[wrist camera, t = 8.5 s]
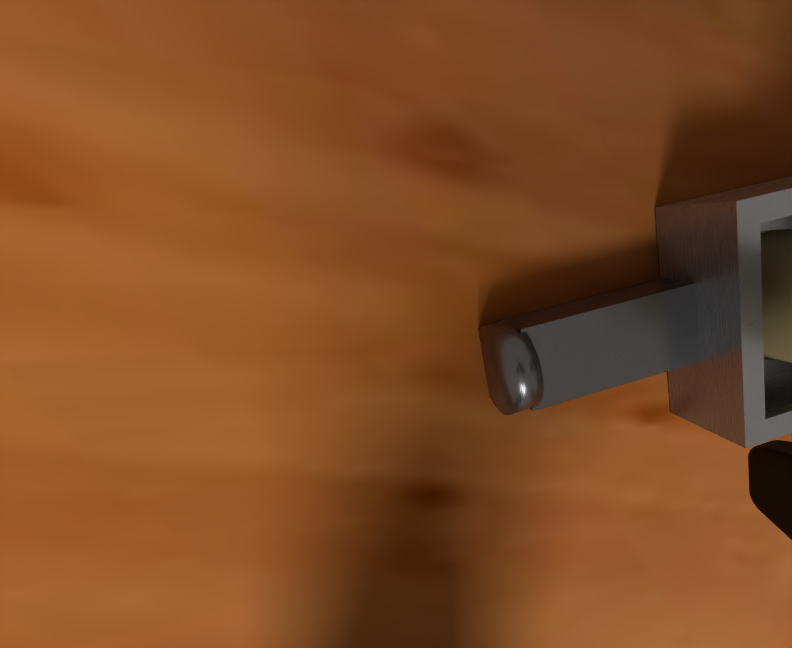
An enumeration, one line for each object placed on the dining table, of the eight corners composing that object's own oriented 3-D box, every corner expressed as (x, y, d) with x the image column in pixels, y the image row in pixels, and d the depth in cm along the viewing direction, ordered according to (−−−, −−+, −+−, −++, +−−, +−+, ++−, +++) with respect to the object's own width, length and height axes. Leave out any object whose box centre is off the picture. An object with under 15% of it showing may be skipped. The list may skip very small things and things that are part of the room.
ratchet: (816, 356, 25) (935, 384, 21) (493, 455, 22) (546, 514, 18) (817, 167, 23) (950, 150, 18) (458, 250, 20) (507, 255, 15)
